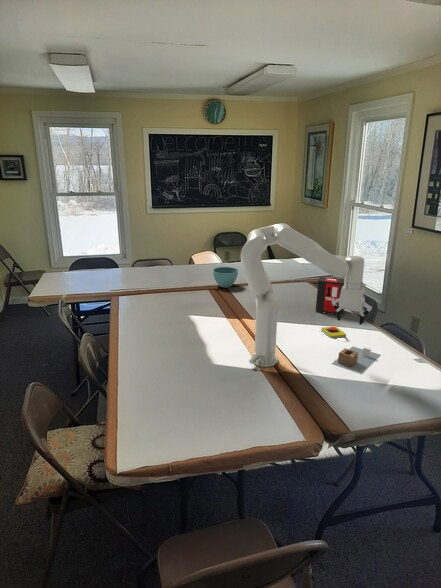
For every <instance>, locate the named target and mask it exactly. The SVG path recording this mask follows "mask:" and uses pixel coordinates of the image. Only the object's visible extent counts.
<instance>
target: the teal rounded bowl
mask: <svg viewBox="0 0 441 588" xmlns="http://www.w3.org/2000/svg"><path fill="white" fill-rule="evenodd" d="M212 273H213V274H212V275H213V277H214V280H215V282H216V283H217V285H218V286H219V287H220V288H225V289H227V288H231V287H232V286H233V285H234V283H235V282H236V280H237V278H238V274H239V270H238V269H237V268H235V267H230V266H221V267H219V266H218V267H215V268H213V269H212Z"/></svg>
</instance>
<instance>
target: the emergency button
mask: <svg viewBox="0 0 441 588" xmlns="http://www.w3.org/2000/svg"><path fill="white" fill-rule="evenodd" d="M320 331H321V332H323V333H324V334H325V335H326V336H328V337H327V338H329V339H333V340H336V339H337V338H346V339H347V333H345V332H344V331H343V330H342V329H340V328H339V327H337V326H326V327H321V330H320Z"/></svg>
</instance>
